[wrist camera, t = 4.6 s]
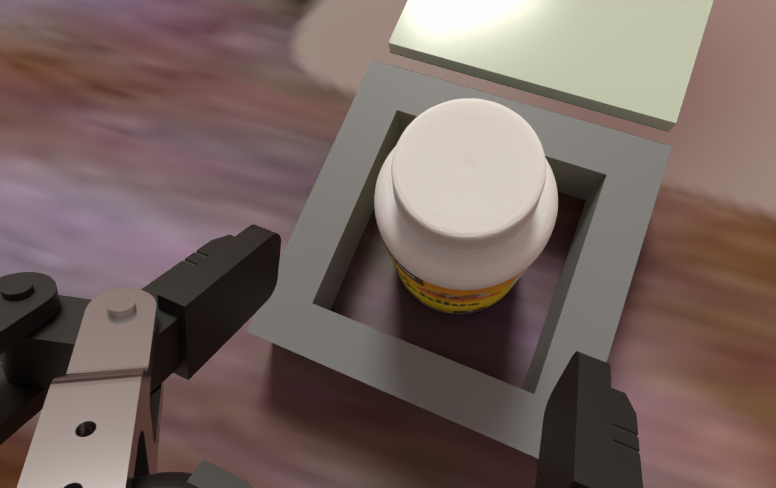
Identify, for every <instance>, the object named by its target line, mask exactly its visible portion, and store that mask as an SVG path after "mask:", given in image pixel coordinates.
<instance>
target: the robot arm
mask: <svg viewBox="0 0 776 488" xmlns="http://www.w3.org/2000/svg"><path fill="white" fill-rule="evenodd" d="M280 246H281V238H280V235H279V234H277V233H275V232H272V231H270V230H267V229H264V228H262V227H259V226H257V225H251V226H249V227H248V228H246V229H245V230H243V231H242V232H241V233H239V234H238V235H237V236H235V237H234V236H232V235H227V236H224V237H221V238H218V239H215V240H211V241H210V242H208V243H207V244H205V245H204V246H203V247H201V248H200V249H198V250H197V252H196V253H193V254H191V255H190V256H188V257H187V258H185V261H181V262H180V263H178V264H177V265H175V266H174V267H173V268H171V269H170V270H168V271H167V272H165V273H164V274H163V275H161V276H160V277H158V278H157V279H155V280H154V281H153V282H151V283H150V284H148V285H147V286H145V287H144V288H143V289H141V290H139V289H133V288H123V289H116V290H112V291H108V292H105V293H103V294H101V295H99V296H97V297H96V298H94V299H93V300H89V299H82V298H75V297H69V296H62V295H58V291H57V286H56V283H55V281H54V280H53V279H52V278H51V277H49V276H47V275H45V274H42V273H36V272H22V273H15V274H10V275H6V276H3V277H1V278H0V362H1V364H0V445H1V444H2V443H3V442H4V441H5V440H7V439H8V438H9V437H10V436H11V435H12V434H14V433H15V432H16V431H17V430H18V429H19V428H21V427H22V426H23V425H24V424H25V423H26V422H27V421H29V420H30V419H31V418H32V417H33V416H34V415H36V414H37V413H38V412H39V411H40V410H41V409H42V412H41V415H40V418H39V421H38V424H37V427H36V430H35V433H34V437H33V440H32V443H31V446H30V449H29V452H28V455H27V458H26V461H25V464H24V467H23V470H22V474H21V477H20V480H19V483H18V486H17V488H253V487H252V486H251V485H250V484H249V483H248V482H246V481H244V480H243V479H241V478H239V477H237V476H235V475H233V474H231V473H229V472H227V471H225V470H223V469H221V468H219V467H217V466H215V465H213V464H211V463H209V462H207V461H205V460H203V461H202V463H201V464H200V465H199V466H198V468H197V469H196V470H195V471H194V473H185V472H162V473H157V456H158V443H159V433H160V423H161V412H162V402H163V392H164V382H163V381H164V380H165V379H166V378H168V377H169V376H170V375H171V374H172V373H175V374H177V375H179V376H181V377H183V378H185V379H188V380H189V379H190V378H191V377H192V376H193V375H194V374H195V373H196V372H197V371H198V370H199V369H200V368H201V367H202V366H203V365H204V364H205V363H206V362H207V361H208V360H209V359H210V358H211V357H212V356H213V355H214V354H215V353H216V352H217V351H218V350H219V349H220V348H221V347H222V346H223V345H224V344H225V343H226V342H227V341H228V340H229V339H230V338H231V337H232V336H233V335H234V334H235V333H236V332H237V331H238V330H239V329H240V328H241V327H242V326H243V325H244V324H245V323H246V322H247V321H248V320H249V319H250V318H251V317H252V316H253V315H254V314H255V313H256V312H257V311H258V310H259V309H260V308H261V307H262V306H263V305H264V304H265V303H266V302H267V301H268V299H269V298H270V297H271V295H272V294H273V292H274V290H275V287H276V284H277V280H278V270H279V258H280ZM637 435H638V428H637V417H636V413H635V411H634V409H633V407H632V405H631V403H630V401H629V399H628V397H627V395H626V394H625V393H623V392H621V391H618V390H616V389H613V388H611V377H610V365H609V363H607V362H604V361H602V360H599V359H596V358H594V357H591V356H589V355H586V354H584V353H581V352H578V351H576V352H575V353H574V354H573V356H572V357H571V359H570V361H569V363H568V364H567V366H566V368H565V370H564V371H563V373H562V375H561V377H560V378H559V380H558V382H557V384H556V385H555V387H554V389H553V391H552V393H551V395H550V397H549V399H548V402H547V405H546V408H545V412H544V417H543V425H542V434H541V443H540V451H539V460H538V468H537V477H536V485H535V488H643V483H642V472H641V461H640V454H638V453H639V439H638V437H637Z"/></svg>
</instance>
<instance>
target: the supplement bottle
mask: <svg viewBox="0 0 776 488" xmlns="http://www.w3.org/2000/svg"><path fill="white" fill-rule="evenodd" d="M374 209H375V217H376V221H377V225H378V229H379V232H380V235H381V237H382V240H383V242H384V244H385V246H386V248H387V250H388V252H389V254H390V257H391V259H392V261H393V264H394V266H395V267H396V270H397V272H398V274H399V276H400V278H401V280H402V282H403V284H404V285H405V287H406V288H407V289H408V291H409V292H410V293H411V294H412V295H413V296H414V297H415V298H416V299H417V300H418V301H420V302H421V303H422V304H424V305H425V306H427V307H429V308H431V309H433V310H436V311H439V312H442V313H446V314H454V315H463V314H471V313H476V312H479V311H482V310H484V309H487V308H489V307H491V306H492V305H494V304H495V303H497V302H498V301H499V300H501V299H502V298H503V297H504V296H505V295H506V294H507V293H508V292H509V291H510V289H511V288H512V287H513V285H514V284H515V283H516V282H517V281H518V280H519V278H520V277H521V276H522V275H523V274H524V273H525V271H526V270H527V269H528V268H529V267H530V265H531V264H532V263H533V262H534V261H535V260H536V259H537V257H538V256H539V255H540V254H541V252H542V251H543V249H544V247H545V246H546V244H547V242H548V240H549V238H550V236H551V234H552V231H553V229H554V226H555V222H556V218H557V212H558V192H557V185H556V181H555V177H554V175H553V172H552V169H551V167H550V165H549V163H548V161H547V159H546V158H545V154H544V150H543V147H542V144H541V142H540V140H539V138H538V136H537V134H536V133H535V131H534V130H533V129H532V127H531V126H530V125H529V124H528V123H527V122H526V121H525V120H524V119H523V118H522V117H521V116H520V115H518V114H517V113H515V112H514V111H512V110H511V109H509V108H507V107H505V106H503V105H501V104H498V103H495V102H492V101H488V100H484V99H475V98H468V99H455V100H451V101H447V102H444V103H441V104H438V105H436V106H434V107H431V108H429V109H428V110H426V111H425V112H423V113H422V114H420V115H419V116H418V117H417V118H415V119H414V120H413V121H412V122H411V123H410V124H409V125H408V126H407V128H406V129H405V131H404V132H403V133H402V135H401V137H400V139H399V141H398V142H397V145H396V146H395V147H394V149H393V150H392V151H391V152H390V154H389V155H388V157H387V158H386V160H385V162H384V163H383V165H382V168H381V170H380V172H379V175H378V178H377V182H376V187H375V195H374Z"/></svg>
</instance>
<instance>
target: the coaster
mask: <svg viewBox="0 0 776 488" xmlns="http://www.w3.org/2000/svg"><path fill="white" fill-rule="evenodd" d="M713 1H714V0H408V1H407V4H406V6H405V8H404V10H403V12H402V15H401V17H400V19H399V21H398V23H397V25H396V28H395V30H394V32H393V34H392V37H391V39H390V41H389V48H390V53H393V54H397V55H400V56H404V57H407V58H411V59H414V60H418V61H421V62H425V63H428V64H432V65H436V66H439V67H443V68H446V69H450V70H453V71H456V72H460V73H463V74H467V75H470V76H474V77H478V78H481V79H485V80H488V81H492V82H495V83H499V84H503V85H506V86H509V87H513V88H516V89H520V90H523V91H527V92H530V93H534V94H537V95H541V96H544V97H548V98H552V99H555V100H558V101H562V102H565V103H569V104H573V105H576V106H580V107H583V108H587V109H590V110H594V111H597V112H601V113H604V114H608V115H611V116H615V117H618V118H622V119H626V120H629V121H632V122H636V123H640V124H643V125H646V126H650V127H653V128H657V129H660V130H664V131H669V130H670V129H671V128H672V127H673V126H674V125H675V124H676V122H677V119H678V116H679V113H680V109H681V106H682V103H683V99H684V96H685V93H686V89H687V86H688V83H689V80H690V76H691V73H692V70H693V66H694V63H695V60H696V57H697V53H698V50H699V47H700V43H701V40H702V37H703V33H704V30H705V27H706V24H707V20H708V17H709V14H710V11H711V7H712V4H713Z"/></svg>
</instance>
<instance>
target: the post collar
mask: <svg viewBox="0 0 776 488" xmlns="http://www.w3.org/2000/svg"><path fill="white" fill-rule="evenodd" d="M468 98H475V99H484V100H488V101H492V102H495V103H498V104H501V105H503V106H505V107H507V108H509V109H511V110H512V111H514V112H515V113H517V114H518V115H520V116H521V117H522V118H523V119H524V120H525V121H526V122H527V123H528V124H529V125H530V126H531V127H532V129H533V130H534V131H535V133H536V134H537V136H538V138H539V140H540V142H541V144H542V147H543V150H544V154H545V158H546V159H547V161H548V163H549V165H550V167H551V169H552V172H553V175H554V177H555V181H556V185H557V192H560V193H564V194H567V195H570V196H573V197H576V198H579V199H582V200H585V204H584V207H583V210H582V213H581V216H580V219H579V222H578V225H577V228H576V231H575V234H574V237H573V240H572V243H571V246H570V249H569V252H568V255H567V258H566V261H565V264H564V267H563V269H562V272H561V275H560V278H559V281H558V284H557V287H556V290H555V293H554V296H553V299H552V302H551V305H550V308H549V311H548V314H547V317H546V320H545V323H544V326H543V329H542V332H541V335H540V338H539V341H538V344H537V347H536V350H535V353H534V356H533V359H532V362H531V365H530V368H529V371H528V374H527V377H526V380H525V383H524V386H523V389H520V388H518V387H516V386H513V385H511V384H508V383H506V382H503V381H501V380H498V379H496V378H494V377H491V376H489V375H486V374H484V373H481V372H479V371H477V370H474V369H472V368H469V367H467V366H464V365H462V364H459V363H457V362H455V361H452V360H450V359H447V358H445V357H442V356H440V355H437V354H435V353H433V352H430V351H428V350H425V349H423V348H420V347H418V346H415V345H413V344H411V343H408V342H406V341H403V340H401V339H398V338H396V337H393V336H391V335H389V334H386V333H384V332H381V331H379V330H376V329H374V328H372V327H369V326H367V325H364V324H362V323H359V322H357V321H354V320H352V319H350V318H347V317H345V316H342V315H340V314H337V313H335V312H332V311H330V310H331V308H332V305H333V303H334V301H335V298H336V296H337V294H338V291H339V289H340V287H341V284H342V282H343V280H344V277H345V275H346V273H347V270H348V268H349V266H350V263H351V261H352V259H353V256H354V254H355V252H356V249H357V247H358V245H359V242H360V240H361V238H362V235H363V233H364V231H365V228H366V226H367V224H368V221H369V219H370V217H371V214H372V212H373V210H374V195H375V187H376V182H377V178H378V175H379V172H380V170H381V168H382V165H383V163H384V162H385V160H386V158H387V157H388V155H389V154H390V152H391V151H392V150H393V149H394V147H395V146H396V145H397V142H398V141H399V139H400V137H401V135H402V133H403V132H404V131H405V129H406V128H407V126H408V125H409V124H410V123H411V122H412V121H413V120H414V119H415V118H417V117H418V116H419V115H420V114H422V113H423V112H425V111H426V110H428V109H429V108H431V107H434V106H436V105H438V104H441V103H444V102H447V101H451V100H455V99H468ZM671 148H672V146H670V145H666V144H663V143H659V142H655V141H652V140H649V139H645V138H642V137H639V136H635V135H632V134H628V133H625V132H621V131H618V130H614V129H611V128H607V127H604V126H601V125H597V124H594V123H590V122H587V121H583V120H580V119H576V118H573V117H570V116H566V115H563V114H559V113H555V112H552V111H548V110H545V109H542V108H538V107H535V106H531V105H528V104H525V103H521V102H517V101H514V100H511V99H507V98H503V97H500V96H497V95H494V94H490V93H487V92H483V91H480V90H476V89H472V88H469V87H466V86H462V85H459V84H456V83H452V82H449V81H445V80H442V79H438V78H435V77H431V76H428V75H424V74H421V73H418V72H414V71H410V70H407V69H403V68H400V67H397V66H393V65H390V64H386V63H383V62H380V61H376V60H372V61H371V64H370V66H369V68H368V70H367V72H366V74H365V77H364V79H363V81H362V83H361V85H360V87H359V90H358V92H357V94H356V96H355V98H354V100H353V103H352V105H351V107H350V109H349V111H348V113H347V116H346V118H345V120H344V122H343V124H342V126H341V129H340V131H339V133H338V135H337V137H336V139H335V142H334V144H333V146H332V148H331V150H330V152H329V155H328V157H327V159H326V161H325V163H324V165H323V168H322V170H321V172H320V174H319V176H318V179H317V181H316V183H315V185H314V187H313V189H312V192H311V194H310V196H309V198H308V200H307V202H306V205H305V207H304V209H303V211H302V213H301V215H300V218H299V220H298V222H297V224H296V226H295V228H294V231H293V233H292V235H291V237H290V239H289V241H288V244H287V246H286V248H285V250H284V252H283V254H282V257H281V259H280V261H279V270H278V280H277V284H276V287H275V290H274V292H273V294H272V295H271V297H270V298H269V299H268V301H267V302H266V303H265V304H264V305H263V306H262V307H261V308H260V309H259V310H258V311H257V312H256V313H255V315H254V317H253V319H252V322H251V324H250V326H249V328H248V330H247V332H249V333H251V334H253V335H256V336H258V337H260V338H262V339H265V340H267V341H269V342H272V343H274V344H276V345H279V346H281V347H283V348H285V349H288V350H290V351H292V352H295V353H297V354H299V355H301V356H304V357H306V358H308V359H311V360H313V361H315V362H318V363H320V364H322V365H324V366H327V367H329V368H331V369H334V370H336V371H338V372H340V373H343V374H345V375H347V376H350V377H352V378H354V379H357V380H359V381H361V382H363V383H366V384H368V385H370V386H373V387H375V388H377V389H379V390H382V391H384V392H386V393H389V394H391V395H393V396H396V397H398V398H400V399H402V400H405V401H407V402H409V403H412V404H414V405H416V406H419V407H421V408H423V409H425V410H428V411H430V412H432V413H435V414H437V415H439V416H441V417H444V418H446V419H448V420H451V421H453V422H455V423H458V424H460V425H462V426H464V427H467V428H469V429H471V430H474V431H476V432H478V433H480V434H483V435H485V436H487V437H490V438H492V439H494V440H497V441H499V442H501V443H503V444H506V445H508V446H510V447H513V448H515V449H517V450H519V451H522V452H524V453H526V454H529V455H531V456H533V457H536V458H538V459H539V451H540V443H541V434H542V425H543V417H544V412H545V408H546V405H547V402H548V399H549V397H550V395H551V393H552V391H553V389H554V387H555V385H556V384H557V382H558V380H559V378H560V377H561V375H562V373H563V371H564V370H565V368H566V366H567V364H568V363H569V361H570V359H571V357H572V356H573V354H574V353H575V352H576V351H578V352H581V353H584V354H586V355H589V356H591V357H594V358H596V359H599V360H602V361H604V362H607V360H608V356H609V353H610V350H611V346H612V343H613V340H614V336H615V333H616V330H617V326H618V323H619V320H620V317H621V313H622V310H623V307H624V303H625V300H626V297H627V293H628V290H629V287H630V284H631V280H632V277H633V274H634V270H635V267H636V264H637V260H638V257H639V254H640V251H641V247H642V244H643V241H644V237H645V234H646V231H647V227H648V224H649V221H650V217H651V214H652V211H653V208H654V204H655V201H656V198H657V194H658V191H659V188H660V184H661V181H662V178H663V175H664V171H665V168H666V165H667V161H668V158H669V155H670V151H671Z"/></svg>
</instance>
